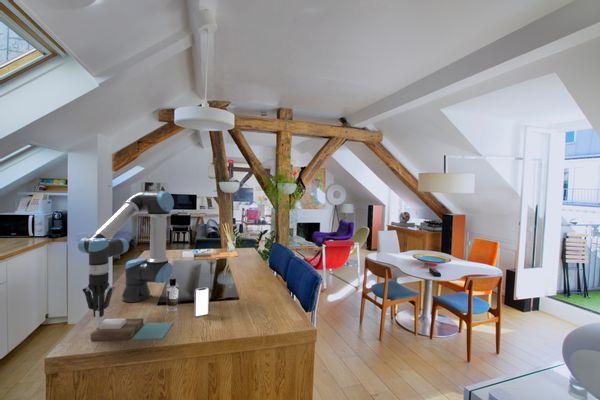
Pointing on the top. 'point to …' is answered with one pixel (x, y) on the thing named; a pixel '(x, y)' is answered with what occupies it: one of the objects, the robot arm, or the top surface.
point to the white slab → (112, 323)
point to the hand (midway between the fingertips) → (98, 323)
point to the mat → (152, 331)
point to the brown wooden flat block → (118, 331)
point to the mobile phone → (201, 302)
